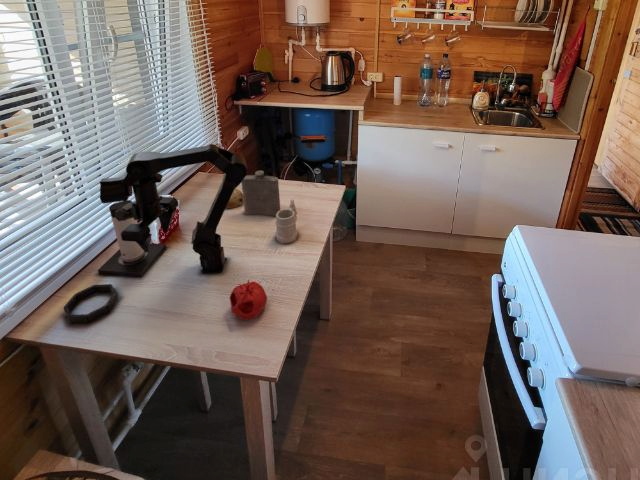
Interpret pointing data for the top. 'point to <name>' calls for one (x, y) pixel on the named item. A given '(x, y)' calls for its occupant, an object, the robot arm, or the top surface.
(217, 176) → the top surface
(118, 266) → the hob plate
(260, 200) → the flask
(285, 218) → the mug
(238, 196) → the bread roll
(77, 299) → the holder ring
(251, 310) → the pomegranate
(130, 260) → the travel mug
